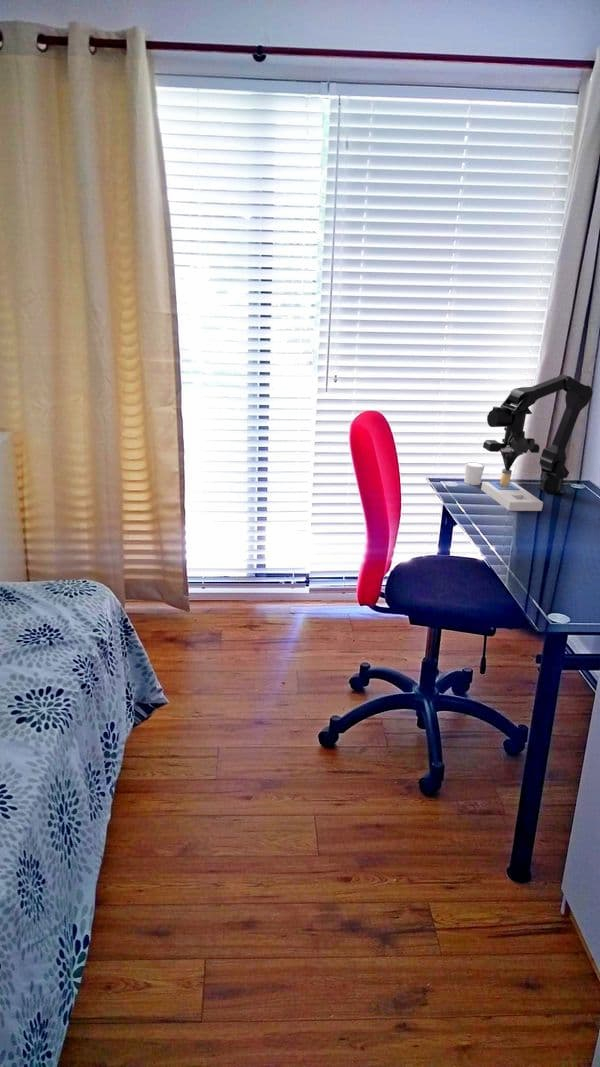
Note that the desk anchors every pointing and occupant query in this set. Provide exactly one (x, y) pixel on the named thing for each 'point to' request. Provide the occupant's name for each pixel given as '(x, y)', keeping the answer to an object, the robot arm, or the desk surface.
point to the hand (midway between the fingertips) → (507, 470)
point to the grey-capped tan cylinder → (505, 478)
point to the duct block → (512, 497)
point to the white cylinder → (473, 473)
